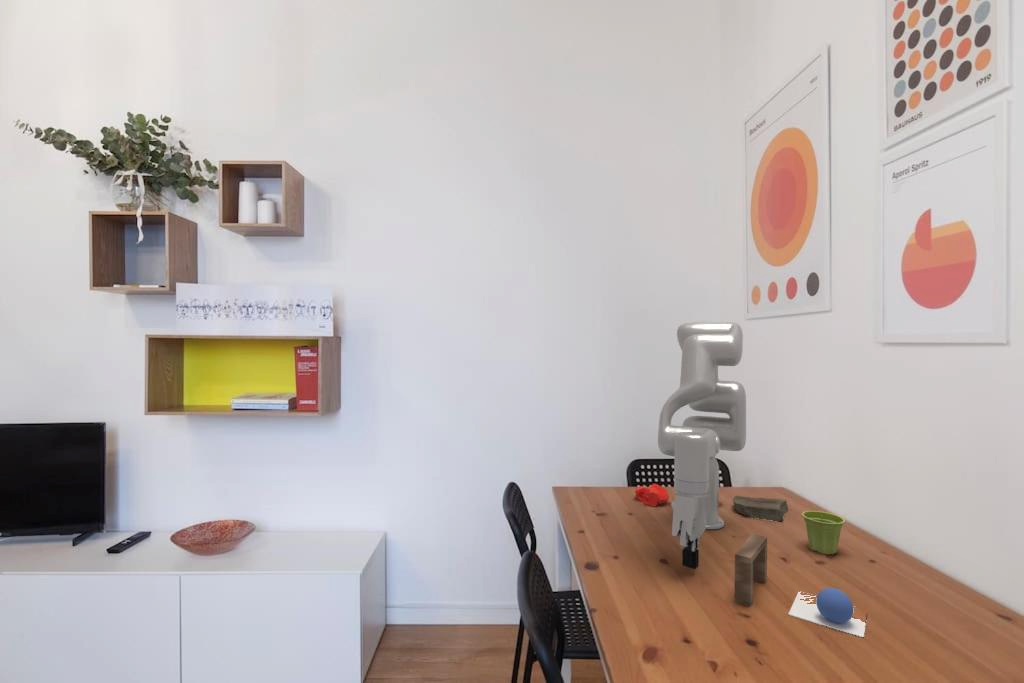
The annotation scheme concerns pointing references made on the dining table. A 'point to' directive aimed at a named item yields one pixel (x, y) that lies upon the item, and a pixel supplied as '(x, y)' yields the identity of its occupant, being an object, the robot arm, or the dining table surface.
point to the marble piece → (761, 507)
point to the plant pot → (823, 531)
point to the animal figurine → (652, 495)
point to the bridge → (750, 568)
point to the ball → (834, 605)
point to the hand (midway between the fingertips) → (690, 566)
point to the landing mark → (813, 615)
